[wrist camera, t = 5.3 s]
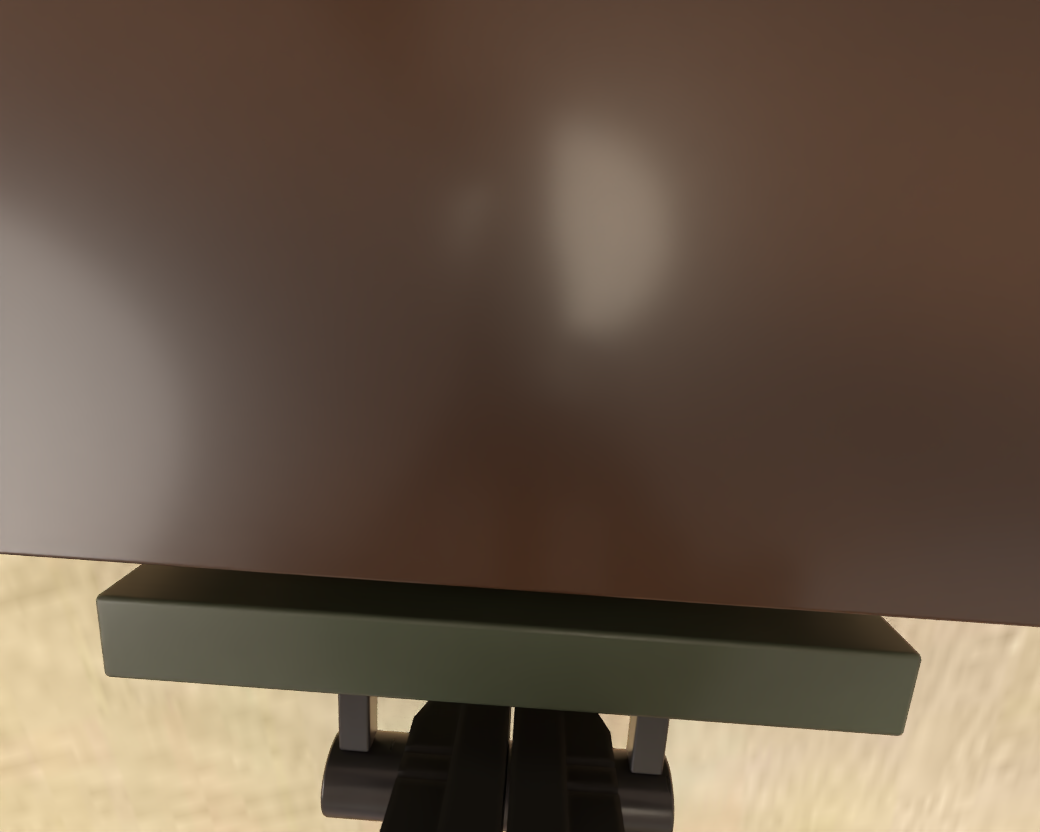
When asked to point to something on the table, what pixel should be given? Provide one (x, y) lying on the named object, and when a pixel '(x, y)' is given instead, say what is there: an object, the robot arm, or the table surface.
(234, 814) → the table surface
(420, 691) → the drawer
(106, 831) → the table surface
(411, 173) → the cabinet
